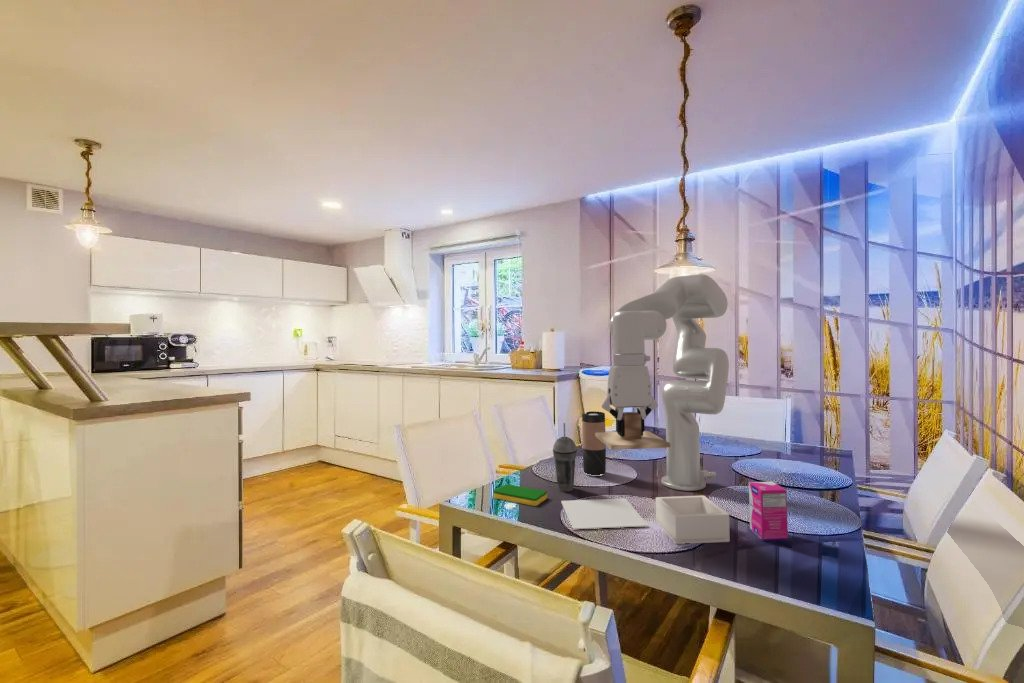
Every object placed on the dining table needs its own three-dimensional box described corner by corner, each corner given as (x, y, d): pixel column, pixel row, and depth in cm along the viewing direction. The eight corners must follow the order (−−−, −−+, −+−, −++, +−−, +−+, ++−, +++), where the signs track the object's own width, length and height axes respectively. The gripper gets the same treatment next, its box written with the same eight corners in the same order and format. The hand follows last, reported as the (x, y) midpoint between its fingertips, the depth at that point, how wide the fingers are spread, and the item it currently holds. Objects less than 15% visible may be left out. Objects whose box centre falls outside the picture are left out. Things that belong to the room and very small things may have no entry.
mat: (625, 500, 126) (625, 498, 126) (648, 527, 108) (648, 525, 108) (561, 502, 125) (561, 500, 125) (573, 530, 108) (573, 528, 107)
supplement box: (748, 530, 105) (747, 481, 105) (774, 530, 105) (773, 481, 105) (761, 541, 100) (760, 489, 100) (789, 541, 99) (788, 489, 99)
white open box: (704, 519, 112) (703, 495, 112) (729, 541, 100) (729, 514, 100) (656, 521, 111) (655, 497, 111) (675, 544, 99) (675, 516, 99)
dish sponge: (506, 491, 137) (506, 483, 137) (547, 499, 129) (547, 490, 129) (493, 499, 130) (493, 490, 130) (535, 507, 123) (535, 499, 123)
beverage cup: (577, 485, 140) (576, 420, 140) (578, 493, 133) (577, 424, 132) (553, 484, 141) (552, 420, 140) (553, 492, 133) (551, 424, 133)
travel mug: (608, 476, 147) (607, 415, 147) (584, 477, 147) (583, 415, 147) (604, 469, 155) (602, 411, 155) (581, 470, 155) (580, 411, 155)
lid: (647, 434, 120) (646, 407, 120) (670, 447, 106) (669, 417, 106) (595, 436, 119) (594, 409, 119) (611, 449, 105) (610, 419, 105)
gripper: (655, 359, 117) (657, 430, 117) (591, 361, 115) (593, 433, 116) (668, 360, 109) (669, 437, 109) (599, 362, 108) (601, 439, 108)
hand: (630, 434), depth 112 cm, fingers closed on lid, 4 cm apart
